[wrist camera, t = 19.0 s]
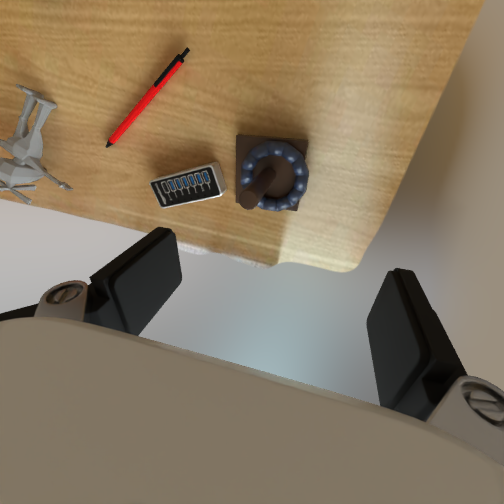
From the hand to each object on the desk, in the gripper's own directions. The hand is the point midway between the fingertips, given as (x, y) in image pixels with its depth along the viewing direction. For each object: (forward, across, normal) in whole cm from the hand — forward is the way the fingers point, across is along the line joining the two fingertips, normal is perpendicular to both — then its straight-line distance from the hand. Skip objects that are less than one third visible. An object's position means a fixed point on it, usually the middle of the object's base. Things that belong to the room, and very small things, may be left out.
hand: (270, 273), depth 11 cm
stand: (+24, +5, +2) cm, 25 cm away
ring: (+22, +4, +2) cm, 23 cm away
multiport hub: (+24, +17, +5) cm, 30 cm away
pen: (+24, +23, -5) cm, 34 cm away
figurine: (+24, +43, +1) cm, 49 cm away
